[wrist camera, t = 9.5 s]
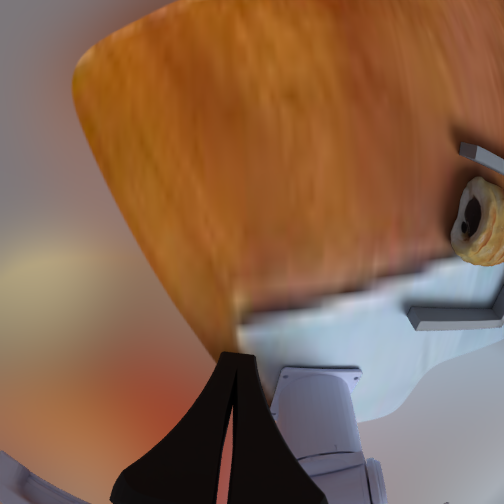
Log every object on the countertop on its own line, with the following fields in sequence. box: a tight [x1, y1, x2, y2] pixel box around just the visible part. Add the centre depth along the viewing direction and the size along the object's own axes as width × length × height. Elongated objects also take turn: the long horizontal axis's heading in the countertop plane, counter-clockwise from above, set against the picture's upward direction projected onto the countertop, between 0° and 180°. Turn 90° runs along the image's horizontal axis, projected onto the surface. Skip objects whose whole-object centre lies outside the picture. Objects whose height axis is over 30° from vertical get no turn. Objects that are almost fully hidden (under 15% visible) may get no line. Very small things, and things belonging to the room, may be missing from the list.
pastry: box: [451, 177, 504, 266], centre depth 16 cm, size 9×7×4 cm
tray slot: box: [407, 142, 504, 331], centre depth 17 cm, size 15×13×2 cm
